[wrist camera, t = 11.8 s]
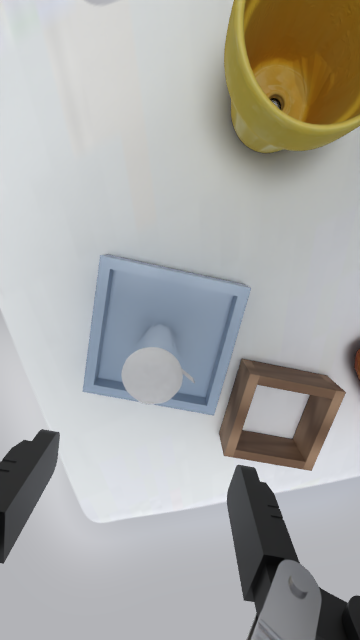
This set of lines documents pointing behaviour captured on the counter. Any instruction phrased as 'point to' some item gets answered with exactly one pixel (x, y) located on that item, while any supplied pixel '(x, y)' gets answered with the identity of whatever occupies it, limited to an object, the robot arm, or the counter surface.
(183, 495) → the counter surface
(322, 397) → the holder
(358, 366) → the hot dog
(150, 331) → the milkshake
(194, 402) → the tray
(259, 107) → the plant pot
